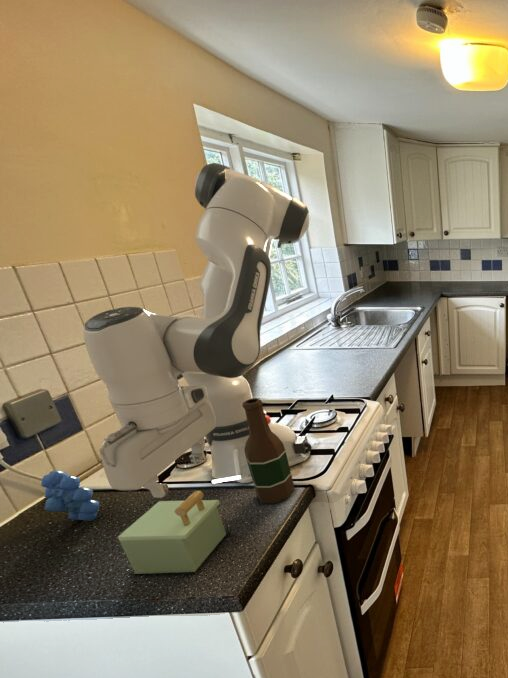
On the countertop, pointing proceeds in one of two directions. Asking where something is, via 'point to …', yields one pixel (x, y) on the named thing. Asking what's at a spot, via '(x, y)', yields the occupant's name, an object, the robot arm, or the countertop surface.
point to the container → (176, 549)
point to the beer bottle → (266, 457)
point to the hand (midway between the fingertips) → (181, 477)
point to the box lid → (171, 519)
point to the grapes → (69, 496)
